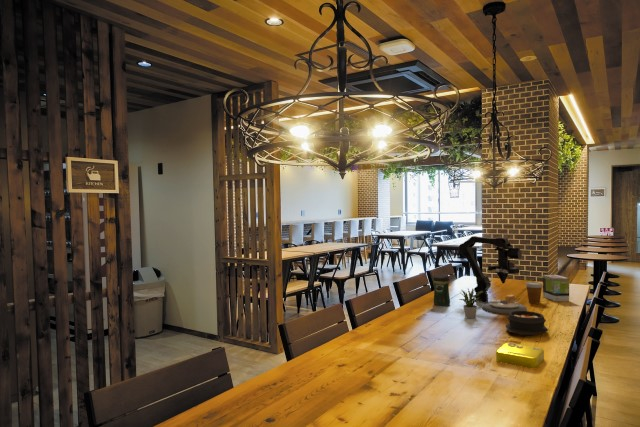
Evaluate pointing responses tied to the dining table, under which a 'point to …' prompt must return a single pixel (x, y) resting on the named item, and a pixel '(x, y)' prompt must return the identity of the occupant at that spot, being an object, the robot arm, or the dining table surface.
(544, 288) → the tea box
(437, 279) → the coffee jar
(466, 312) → the house plant
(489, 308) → the base plate
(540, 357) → the element tile
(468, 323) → the dining table surface
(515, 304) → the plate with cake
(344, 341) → the dining table surface
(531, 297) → the disposable coffee cup
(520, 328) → the casserole
